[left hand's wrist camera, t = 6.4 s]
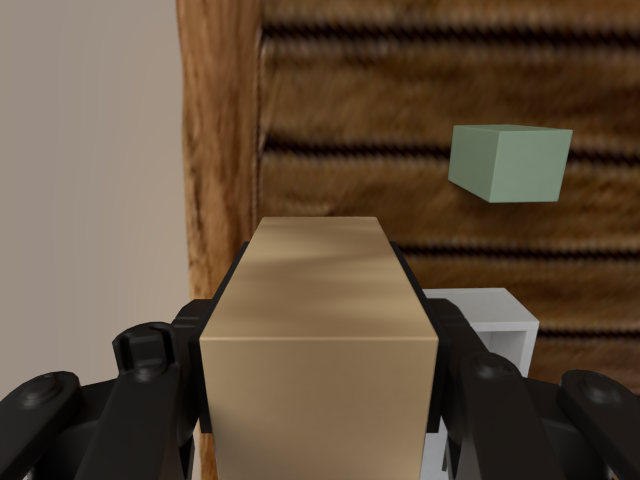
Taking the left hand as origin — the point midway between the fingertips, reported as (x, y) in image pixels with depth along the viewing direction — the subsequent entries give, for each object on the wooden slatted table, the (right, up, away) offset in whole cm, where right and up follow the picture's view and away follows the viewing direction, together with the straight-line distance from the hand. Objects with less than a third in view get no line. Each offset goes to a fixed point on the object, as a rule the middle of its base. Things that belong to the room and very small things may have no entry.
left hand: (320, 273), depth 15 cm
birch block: (0, 0, 0) cm, 0 cm away
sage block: (+13, +9, +16) cm, 22 cm away
